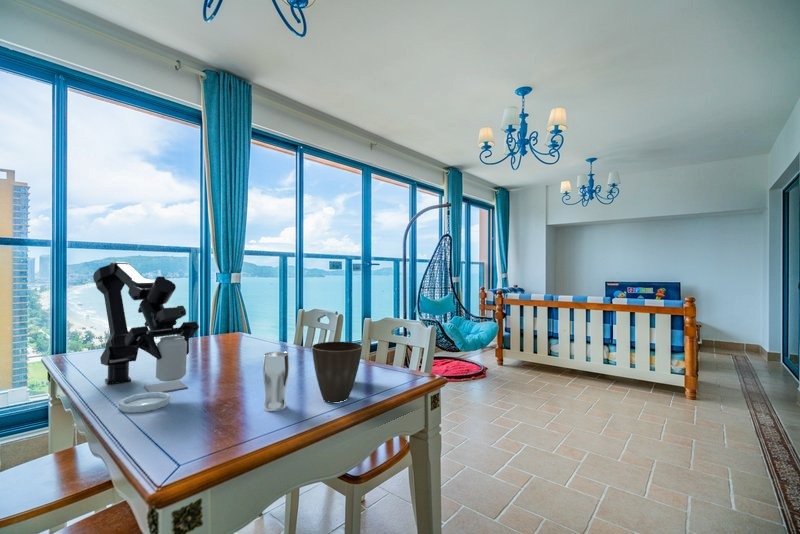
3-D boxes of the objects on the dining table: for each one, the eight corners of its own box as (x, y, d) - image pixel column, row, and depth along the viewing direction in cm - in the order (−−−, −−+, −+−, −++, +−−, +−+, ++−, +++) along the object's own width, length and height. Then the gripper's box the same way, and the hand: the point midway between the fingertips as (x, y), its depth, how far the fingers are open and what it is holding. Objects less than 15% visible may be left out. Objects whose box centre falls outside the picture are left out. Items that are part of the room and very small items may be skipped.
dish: (116, 404, 105) (116, 397, 105) (163, 395, 113) (164, 389, 113) (123, 416, 97) (123, 409, 97) (173, 405, 105) (174, 399, 105)
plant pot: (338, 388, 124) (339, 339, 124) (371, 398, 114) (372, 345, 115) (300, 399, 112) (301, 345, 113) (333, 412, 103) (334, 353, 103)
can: (166, 383, 105) (167, 340, 105) (149, 379, 108) (151, 337, 108) (191, 377, 112) (192, 336, 112) (175, 373, 115) (176, 334, 115)
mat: (143, 387, 121) (143, 385, 121) (179, 381, 128) (179, 380, 128) (150, 394, 114) (150, 393, 114) (187, 388, 120) (187, 387, 120)
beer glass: (263, 414, 100) (265, 357, 101) (260, 405, 107) (261, 352, 107) (290, 410, 104) (291, 355, 104) (285, 402, 110) (286, 350, 110)
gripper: (131, 298, 104) (150, 343, 98) (196, 295, 120) (216, 334, 114) (116, 324, 108) (134, 369, 102) (181, 318, 124) (200, 356, 118)
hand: (174, 356), depth 109 cm, fingers closed on can, 7 cm apart
